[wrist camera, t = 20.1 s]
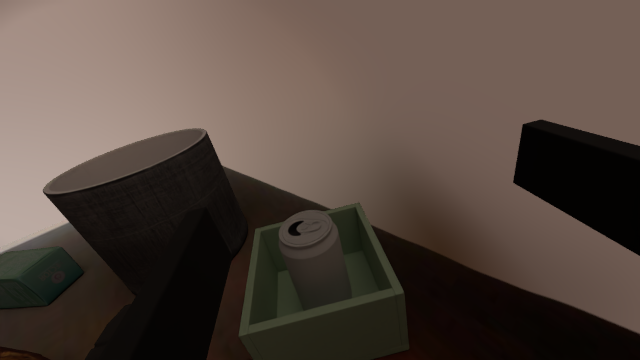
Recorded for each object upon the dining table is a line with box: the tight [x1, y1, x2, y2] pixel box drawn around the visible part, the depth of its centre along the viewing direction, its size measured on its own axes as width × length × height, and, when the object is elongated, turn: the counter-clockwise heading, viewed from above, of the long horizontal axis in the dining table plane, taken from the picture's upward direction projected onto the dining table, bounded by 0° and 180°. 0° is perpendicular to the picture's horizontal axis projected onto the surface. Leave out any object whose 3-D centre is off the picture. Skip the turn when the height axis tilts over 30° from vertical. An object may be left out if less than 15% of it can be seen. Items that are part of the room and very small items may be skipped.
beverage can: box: [279, 210, 352, 311], centre depth 29 cm, size 6×6×12 cm
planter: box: [43, 129, 248, 295], centre depth 44 cm, size 22×22×20 cm
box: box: [0, 246, 83, 309], centre depth 46 cm, size 7×14×8 cm, turn 85°
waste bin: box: [239, 203, 409, 360], centre depth 30 cm, size 15×15×9 cm
